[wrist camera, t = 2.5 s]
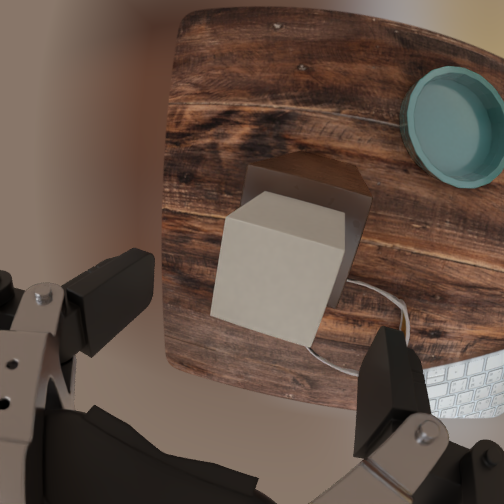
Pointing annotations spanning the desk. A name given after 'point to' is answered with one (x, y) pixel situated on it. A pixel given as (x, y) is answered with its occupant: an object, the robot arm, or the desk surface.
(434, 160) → the bowl
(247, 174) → the block
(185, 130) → the desk surface
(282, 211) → the block
